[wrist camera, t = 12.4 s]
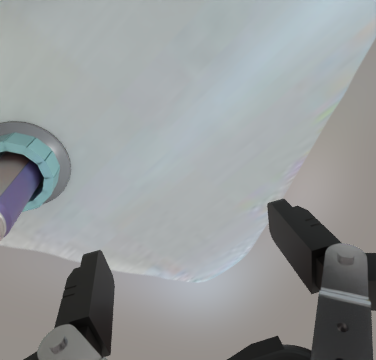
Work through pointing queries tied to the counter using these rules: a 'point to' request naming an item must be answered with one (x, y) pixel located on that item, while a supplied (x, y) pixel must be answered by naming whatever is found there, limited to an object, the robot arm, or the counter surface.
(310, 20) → the counter surface
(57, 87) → the counter surface
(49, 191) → the holder
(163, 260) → the counter surface
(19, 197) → the beverage can
